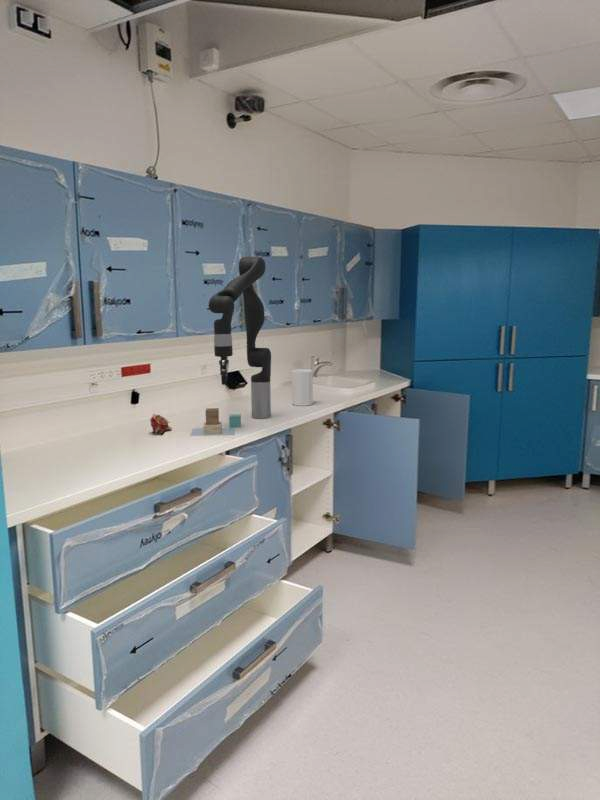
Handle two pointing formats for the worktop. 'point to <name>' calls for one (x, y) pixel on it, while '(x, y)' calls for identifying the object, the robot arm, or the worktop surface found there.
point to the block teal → (234, 420)
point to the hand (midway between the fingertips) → (224, 382)
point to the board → (201, 433)
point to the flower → (159, 424)
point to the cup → (302, 387)
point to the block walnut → (212, 416)
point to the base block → (212, 429)
